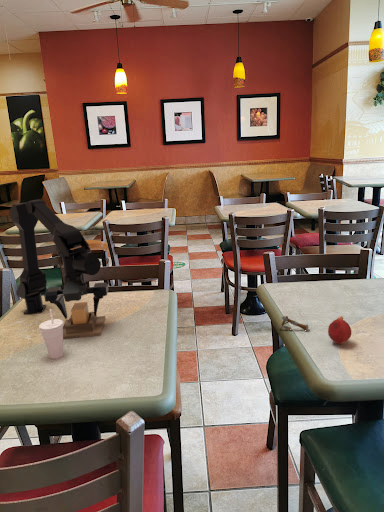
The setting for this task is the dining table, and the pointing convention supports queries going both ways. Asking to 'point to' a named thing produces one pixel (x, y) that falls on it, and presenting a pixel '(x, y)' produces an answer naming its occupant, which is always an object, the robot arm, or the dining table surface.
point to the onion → (339, 330)
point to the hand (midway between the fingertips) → (80, 316)
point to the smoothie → (53, 336)
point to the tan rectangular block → (80, 313)
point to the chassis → (83, 327)
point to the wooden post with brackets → (292, 323)
